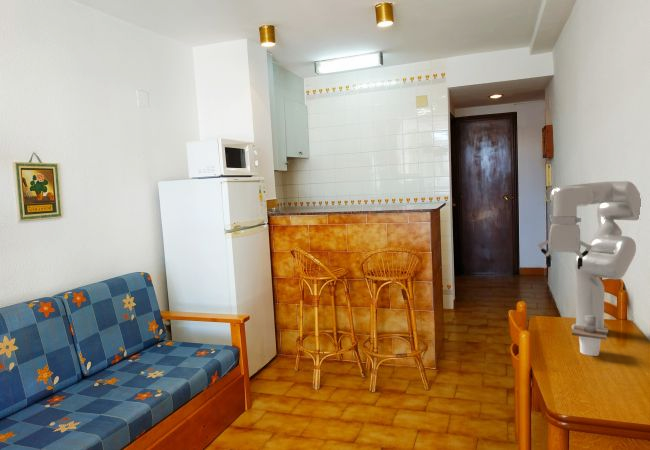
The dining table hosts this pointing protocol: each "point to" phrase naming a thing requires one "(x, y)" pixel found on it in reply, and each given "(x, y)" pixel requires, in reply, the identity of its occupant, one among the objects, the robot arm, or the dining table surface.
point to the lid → (590, 329)
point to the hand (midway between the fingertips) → (563, 267)
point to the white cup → (589, 346)
